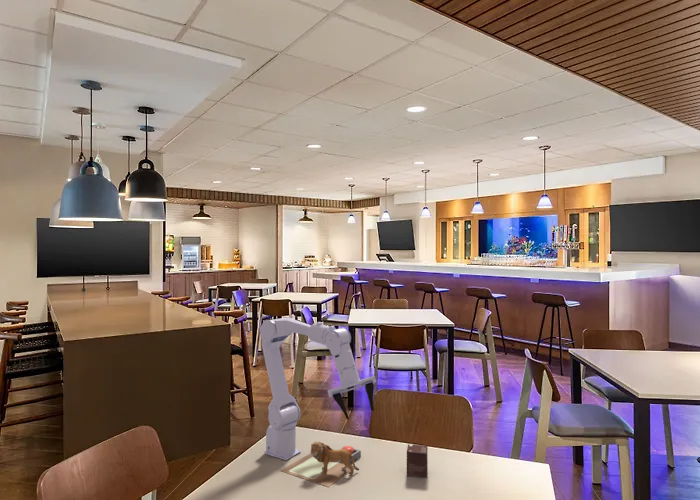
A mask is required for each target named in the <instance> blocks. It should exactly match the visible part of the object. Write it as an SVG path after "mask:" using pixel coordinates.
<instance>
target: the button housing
mask: <svg viewBox="0 0 700 500" xmlns="http://www.w3.org/2000/svg"><path fill="white" fill-rule="evenodd" d="M339 450H342V448H340V449H339ZM352 457H353V460H354V462H355V461H357V460H358V459H360V458H361V457H362V451H361V450H360V449H357V448H354V453H353V454H352ZM349 461H350V464H352V461H351V458H350V457H349ZM340 462H342V460H341V461H340Z"/></svg>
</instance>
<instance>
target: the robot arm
mask: <svg viewBox="0 0 700 500" xmlns="http://www.w3.org/2000/svg"><path fill="white" fill-rule="evenodd" d="M259 333H260V337H261V347H262V352H263V353H262V354H263V356H264V357H263V358H264V363H265V367H266V372H267V376H268V380H269V386H270V390H271V395H272V400H271V401H270V402H269V404H268V407H267V409H268V415H267V417H268V418H267V419H268V422H269V425H268V426H267V429H266V434H265V451H264V454H265V455H267V456H271V457H274V458H277V459H281V460H283V461H286V460H289V459H291V458H293V457H295V456H296V455H298V454H300V453H301V452H302V450H301V449H298V448H297V447H296V445H297V443H296V441H297V440H296V437H297V435H296V430H297V429H296V425H298V421H299V420H300V419H301V417H302V415H301V413H302V412H301V409H300V406H299V405H298V402H297V399H296V398H295V397H294V396H293V395H291V394H290V391H289V387H288V383H287V377H286V373H285V368H284V364H283V360H282V355H281V350H280V347H281V345H282V343H283V342H284V341H285V340H286V339H287V338H289V336H291V335H292V333H294V334H299V335H302V336H306V337H308V339H309V341H311V342H314V343H317V344H321V345H322V346H323V345H324V346H325V347H326V348H327V349H328V351H330V354H331V356H333V361H334V364H335V367H336V368H335V369H336V371H337V375H338V378H339V381H340V386H337V387H334V388H331V389H328V390H327V395H328V398H333V400H334V401H335V402H336V403H337V405H338V406H339V408H340V410H341V411H342V412H343V415H344V416H345V419H346V420H349V419H350V418H349V414H348V411H347V409H346V407H345V403H344V400H343V396H342V394H343V393H347V392H350V391H353V390H357V389H359V388H362V387H364V389H365V392H366V396H367V399H368V403H369V408H370V411H371V412H373V411H375V407H374V389H375V385H374V384H376V383H377V379H376V376H375V375H373V376H369V377H366V378H365V377H364V378H362V379H361V378H360V374H359V372H358V369H357V365H356V362H355V359H354V356H353V352H352V348H351V345H350V343H351V341H352V335H351V332H350V331H349V330H348V329H347V328H345V327H343V326H342V327H339V328H336V327H335V325H330V326H328V325H324V324H323V322H321V321H317V322H314V323H313V324H311V325H310V324H308V323H307V322H306V323H305V322H303V321H300V320H296V319H294V318H293V317H286V316H285V317H281V318H275V319H266V320H264V321H263V322H262V324H261V325H260V327H259Z"/></svg>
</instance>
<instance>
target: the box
mask: <svg viewBox="0 0 700 500" xmlns="http://www.w3.org/2000/svg"><path fill="white" fill-rule="evenodd" d="M428 459H429V458H428V445H424V444H410V443H408V444H407V449H406V476H407V477H410V478H411V477H413V478H424V479H425V478H427V477H428V470H429V469H428V467H429V466H428V461H429V460H428Z"/></svg>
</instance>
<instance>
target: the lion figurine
mask: <svg viewBox="0 0 700 500" xmlns="http://www.w3.org/2000/svg"><path fill="white" fill-rule="evenodd" d="M310 445H311V447H310V451H309V452H310V453H311V455H312V456H313V457H314V458H315V459H317V461H318V462H323V464H324V467H322V470H324V471H323V472H322V473H323V474H326V473H327V471H328V469H327V466H328V463H329V462H342V463H344V464H345V467H342V470H346V468H347V467H348V468H349V469H350V470H351V472H349V473H348V474H349V476H353V475H354V473H355V471H354V470H356V471H359V470H360V468H358V467H357V466H356V463H355V461H354V460H353V457H352V455H351V453H350V452H349V451H348V450H345V449H342V448H341V449H342V450H340V449H334V448H331V446H329V445H327V444H325V443H324V442H321V441H314V442H313V443H312V444H310ZM310 453H309V454H310ZM349 457H350V458H351V461H352V463H350V461H349ZM341 460H342V461H341ZM353 466H354V468H355V469H354V470H353ZM355 466H356V467H355Z"/></svg>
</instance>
